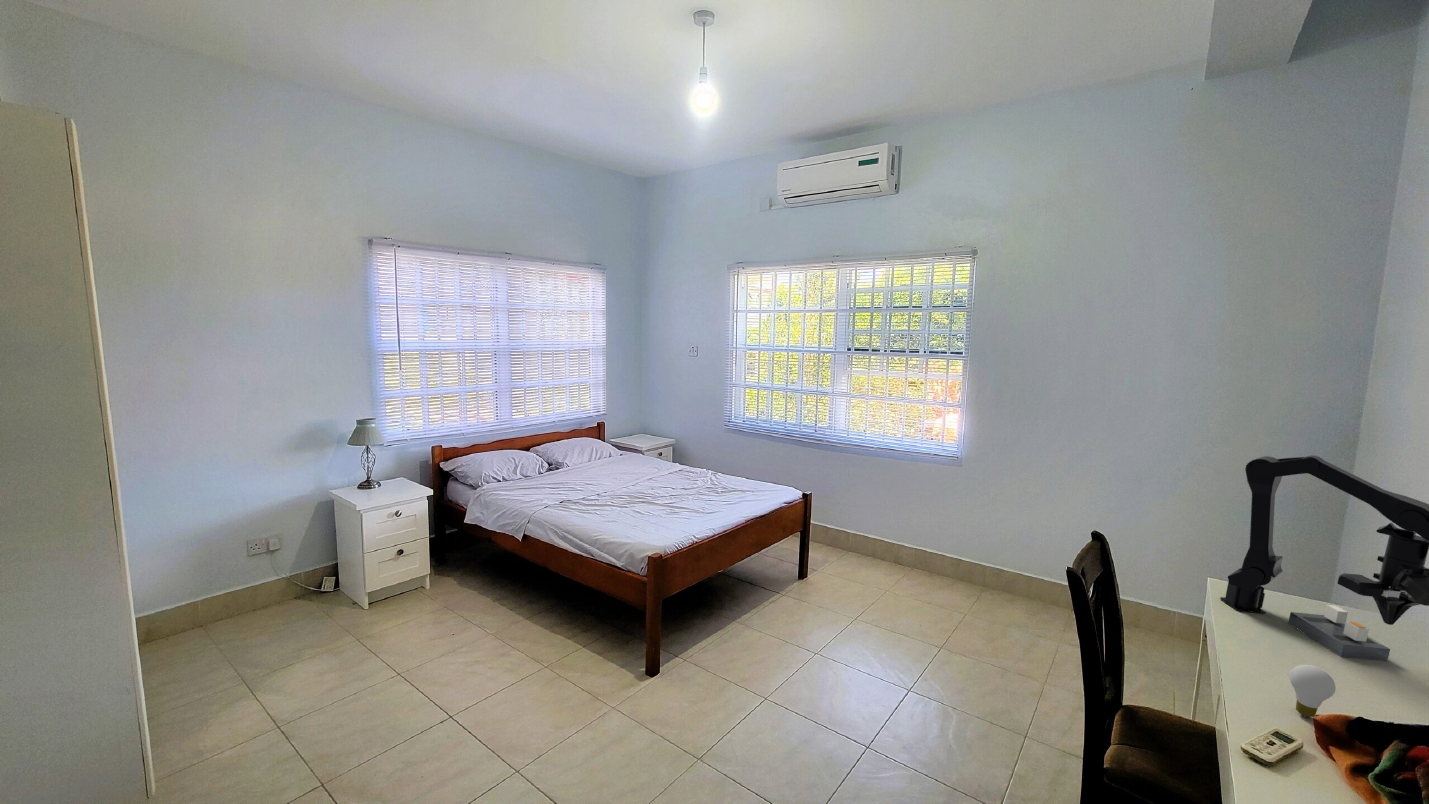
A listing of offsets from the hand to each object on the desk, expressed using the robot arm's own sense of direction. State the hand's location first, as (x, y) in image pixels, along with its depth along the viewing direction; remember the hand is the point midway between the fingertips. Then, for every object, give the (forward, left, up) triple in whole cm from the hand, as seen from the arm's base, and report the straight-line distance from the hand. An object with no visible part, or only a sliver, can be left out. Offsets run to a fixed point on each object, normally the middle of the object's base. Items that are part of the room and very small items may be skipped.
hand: (1388, 623), depth 128 cm
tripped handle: (-6, 0, -4) cm, 7 cm away
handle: (-3, +8, -4) cm, 9 cm away
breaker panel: (-6, +4, -7) cm, 10 cm away
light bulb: (-36, -27, -8) cm, 46 cm away
